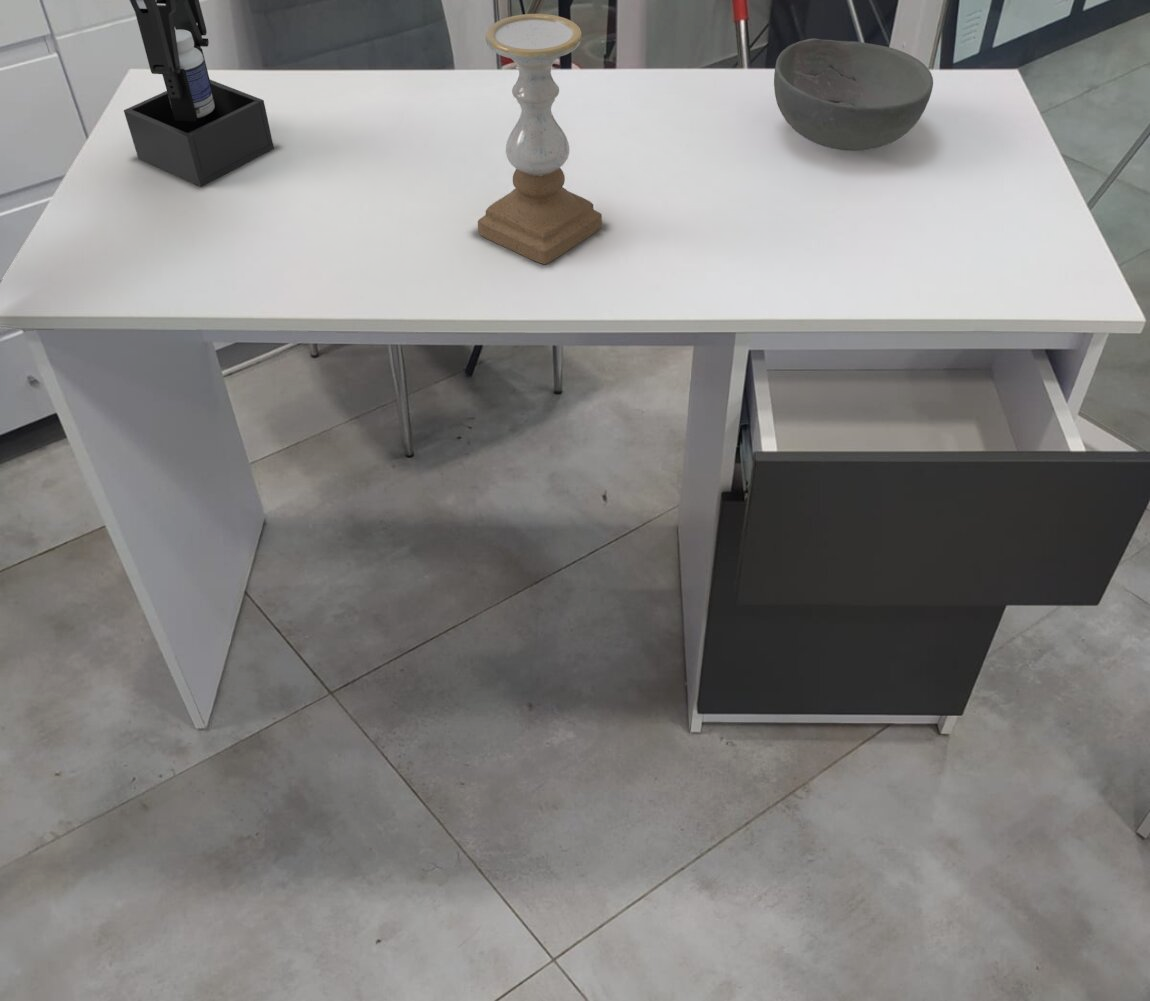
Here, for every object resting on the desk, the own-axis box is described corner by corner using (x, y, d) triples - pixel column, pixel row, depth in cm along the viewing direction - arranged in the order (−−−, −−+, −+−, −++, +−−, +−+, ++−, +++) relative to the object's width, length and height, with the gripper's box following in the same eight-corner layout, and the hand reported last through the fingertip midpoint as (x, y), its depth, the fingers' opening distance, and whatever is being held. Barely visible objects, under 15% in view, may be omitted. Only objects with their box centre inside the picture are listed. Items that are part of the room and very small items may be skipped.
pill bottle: (223, 104, 146) (205, 29, 139) (201, 122, 142) (182, 46, 135) (187, 98, 147) (167, 24, 140) (164, 116, 143) (143, 41, 136)
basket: (200, 187, 142) (187, 137, 138) (138, 158, 148) (123, 110, 143) (274, 148, 150) (263, 99, 145) (212, 123, 155) (200, 75, 150)
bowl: (811, 188, 141) (823, 113, 134) (741, 119, 155) (749, 47, 147) (949, 161, 146) (967, 87, 138) (869, 96, 159) (882, 25, 152)
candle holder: (545, 265, 129) (538, 62, 112) (476, 234, 134) (460, 35, 117) (604, 226, 135) (606, 28, 118) (536, 197, 140) (529, 3, 123)
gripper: (144, -55, 121) (197, 144, 137) (204, -109, 134) (245, 79, 150) (79, -57, 122) (139, 141, 138) (144, -111, 135) (192, 76, 151)
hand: (194, 108), depth 144 cm, fingers closed on pill bottle, 5 cm apart
